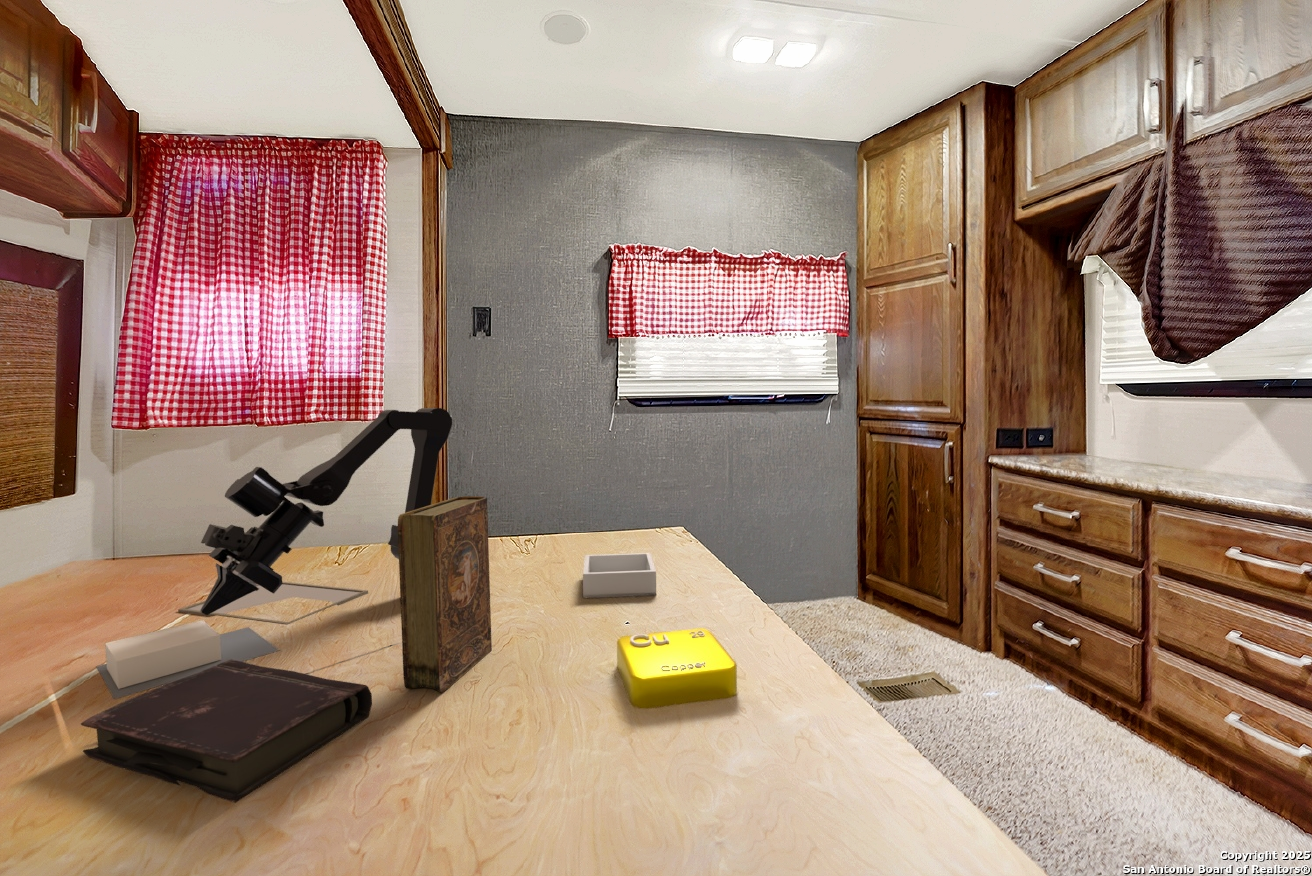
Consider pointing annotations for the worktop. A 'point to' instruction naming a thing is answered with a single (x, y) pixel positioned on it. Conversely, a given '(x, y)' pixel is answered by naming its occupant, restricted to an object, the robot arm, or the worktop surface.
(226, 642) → the mat
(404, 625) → the book
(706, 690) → the element tile
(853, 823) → the worktop surface
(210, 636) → the white rectangular block
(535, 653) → the worktop surface
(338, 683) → the diary
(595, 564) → the dish
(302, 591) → the picture frame
